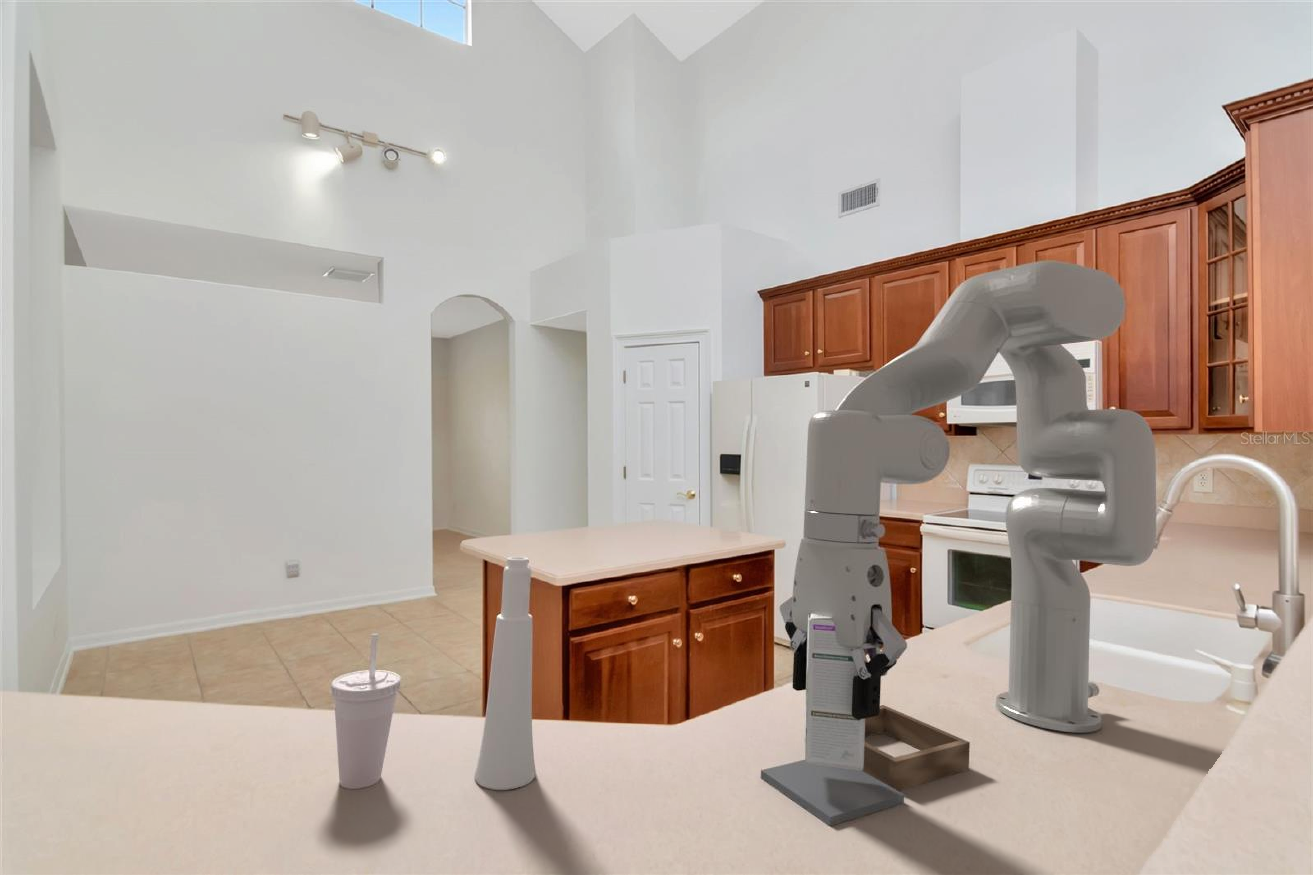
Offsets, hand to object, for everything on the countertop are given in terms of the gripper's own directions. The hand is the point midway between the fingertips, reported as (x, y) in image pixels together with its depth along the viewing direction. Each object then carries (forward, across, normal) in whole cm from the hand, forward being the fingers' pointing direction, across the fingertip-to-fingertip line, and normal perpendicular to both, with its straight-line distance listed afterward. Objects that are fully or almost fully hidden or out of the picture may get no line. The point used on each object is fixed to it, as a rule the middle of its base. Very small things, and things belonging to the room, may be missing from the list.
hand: (833, 700), depth 67 cm
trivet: (+9, 0, 0) cm, 9 cm away
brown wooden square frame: (+9, +3, -12) cm, 15 cm away
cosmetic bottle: (+9, +16, +29) cm, 34 cm away
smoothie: (+9, +21, +42) cm, 48 cm away
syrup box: (+6, 0, 0) cm, 6 cm away
